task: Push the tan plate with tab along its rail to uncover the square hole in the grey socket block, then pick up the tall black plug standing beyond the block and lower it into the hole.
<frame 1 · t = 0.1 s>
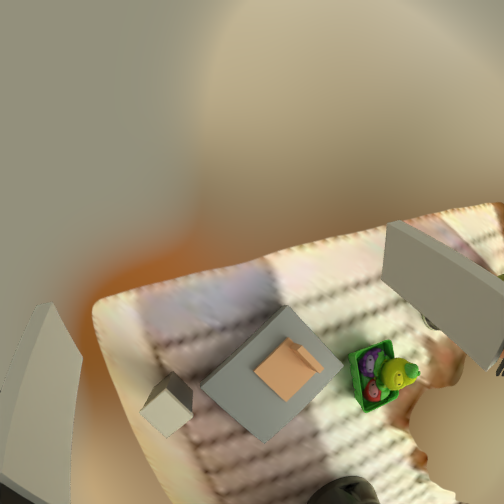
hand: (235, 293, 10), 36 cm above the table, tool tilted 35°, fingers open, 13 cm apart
fruit basket: (365, 370, 48), on the table
socket: (280, 366, 45), on the table
tan plate with tab: (290, 372, 40), point 5 cm above the table, slide at 0.0 cm
plug: (173, 389, 41), on the table
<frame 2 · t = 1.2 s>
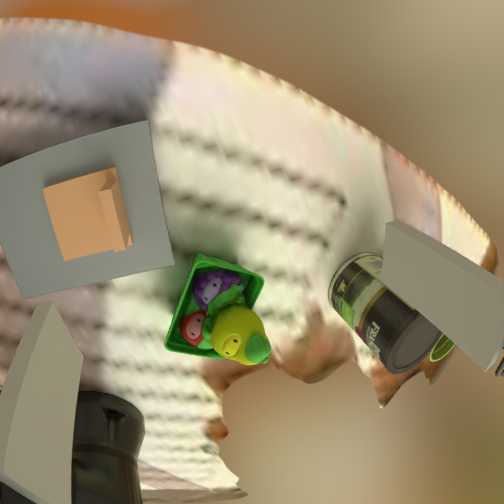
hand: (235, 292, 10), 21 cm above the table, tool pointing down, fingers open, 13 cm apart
fruit basket: (208, 291, 35), on the table
plant pot: (419, 317, 52), on the table
socket: (94, 205, 26), on the table
tan plate with tab: (82, 221, 22), point 5 cm above the table, slide at 0.0 cm
coffee can: (357, 283, 42), on the table
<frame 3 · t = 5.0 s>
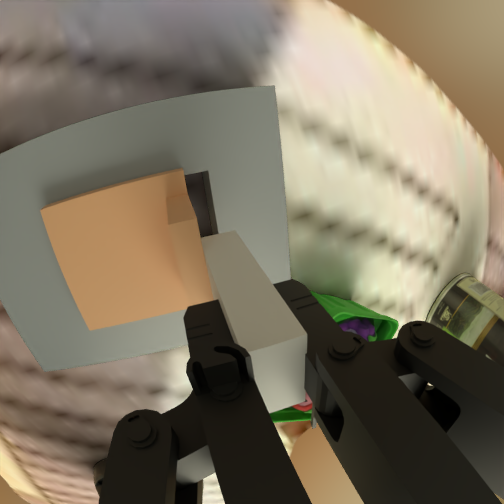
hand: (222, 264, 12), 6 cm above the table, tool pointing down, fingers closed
fruit basket: (311, 336, 25), on the table
socket: (157, 225, 17), on the table
tan plate with tab: (123, 274, 12), point 5 cm above the table, slide at 1.6 cm, touching gripper
coffee can: (448, 306, 32), on the table
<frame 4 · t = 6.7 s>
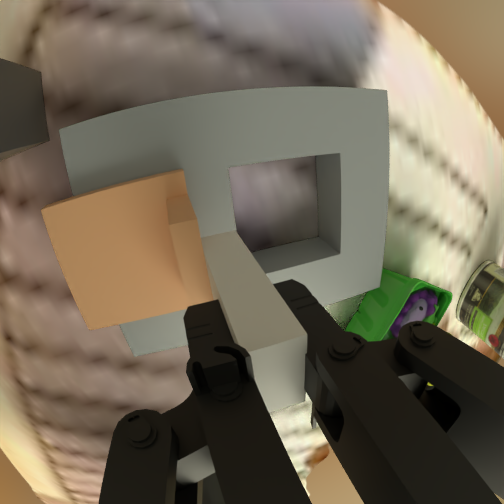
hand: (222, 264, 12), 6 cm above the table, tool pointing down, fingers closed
fruit basket: (375, 312, 27), on the table
socket: (273, 201, 19), on the table
tan plate with tab: (124, 274, 12), point 5 cm above the table, slide at 9.0 cm, touching gripper
coffee can: (475, 290, 34), on the table
plug: (14, 118, 12), on the table
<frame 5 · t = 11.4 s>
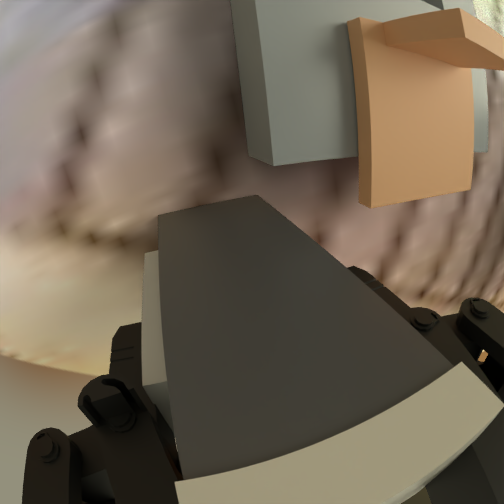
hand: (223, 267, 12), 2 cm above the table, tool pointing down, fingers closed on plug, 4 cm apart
tan plate with tab: (459, 119, 8), point 5 cm above the table, slide at 9.2 cm
plug: (216, 250, 14), on the table, touching gripper
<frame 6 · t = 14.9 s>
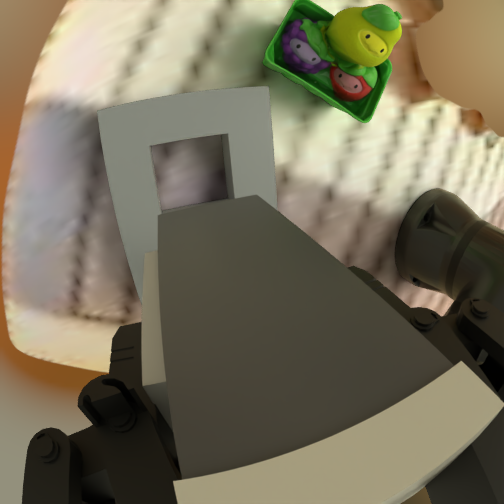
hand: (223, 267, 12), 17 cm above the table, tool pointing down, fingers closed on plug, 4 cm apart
fruit basket: (311, 61, 25), on the table
socket: (190, 171, 26), on the table
plug: (215, 249, 14), point 15 cm above the table, touching gripper
when the fingers open (4 cm above the table, at t = 18.3 s): plug drops 2 cm, resting in socket.
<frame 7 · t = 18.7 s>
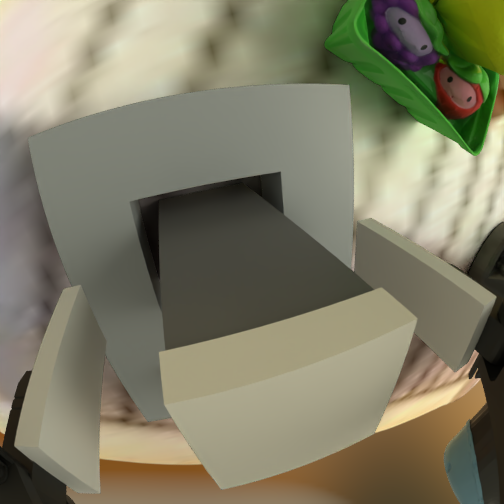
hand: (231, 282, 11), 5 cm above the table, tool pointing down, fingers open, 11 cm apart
fruit basket: (389, 51, 14), on the table
socket: (207, 231, 16), on the table
plug: (208, 230, 16), resting in socket
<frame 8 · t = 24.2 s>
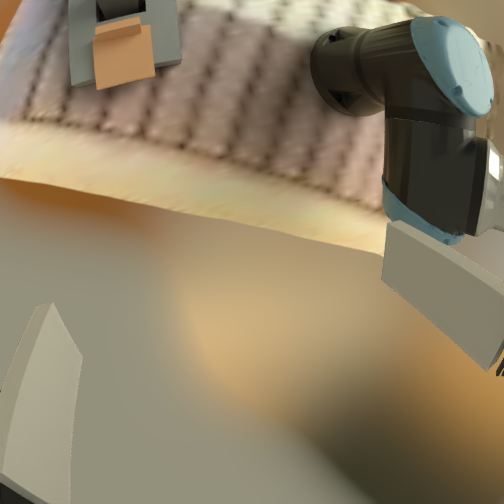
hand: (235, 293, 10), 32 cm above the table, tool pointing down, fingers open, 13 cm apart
socket: (122, 5, 25), on the table
tan plate with tab: (121, 53, 25), point 5 cm above the table, slide at 9.2 cm
plug: (122, 5, 25), resting in socket
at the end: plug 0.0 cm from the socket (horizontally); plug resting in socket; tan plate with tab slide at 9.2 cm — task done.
